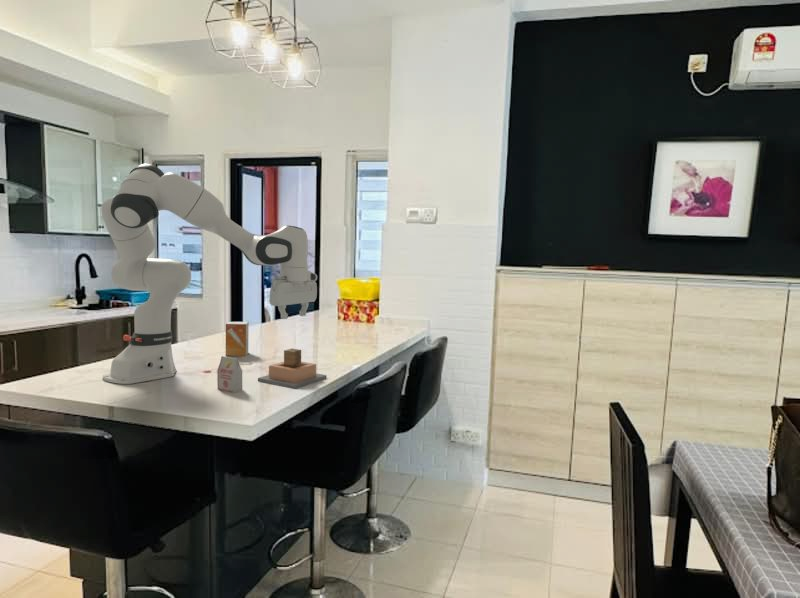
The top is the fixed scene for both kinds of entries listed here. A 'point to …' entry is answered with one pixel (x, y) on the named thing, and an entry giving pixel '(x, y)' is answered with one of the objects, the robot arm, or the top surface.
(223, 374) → the white carton
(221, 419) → the top surface
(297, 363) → the tall wooden block
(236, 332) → the small box
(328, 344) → the top surface
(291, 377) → the tan square frame
